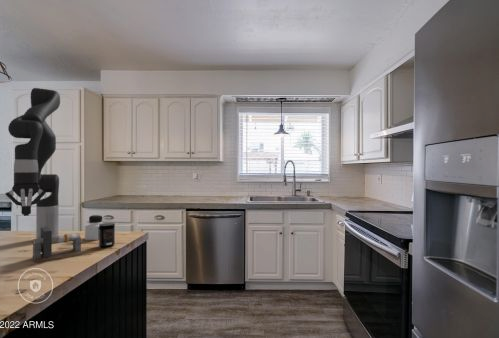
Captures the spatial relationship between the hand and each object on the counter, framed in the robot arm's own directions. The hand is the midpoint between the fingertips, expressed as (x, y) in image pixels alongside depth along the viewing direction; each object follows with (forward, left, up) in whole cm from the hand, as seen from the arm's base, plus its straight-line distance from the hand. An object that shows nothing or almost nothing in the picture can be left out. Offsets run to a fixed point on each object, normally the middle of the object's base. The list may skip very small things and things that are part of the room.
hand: (26, 215), depth 112 cm
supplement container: (-3, +30, -19) cm, 36 cm away
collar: (0, +6, -16) cm, 17 cm away
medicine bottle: (-22, +30, -19) cm, 42 cm away
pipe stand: (0, +10, -18) cm, 21 cm away
